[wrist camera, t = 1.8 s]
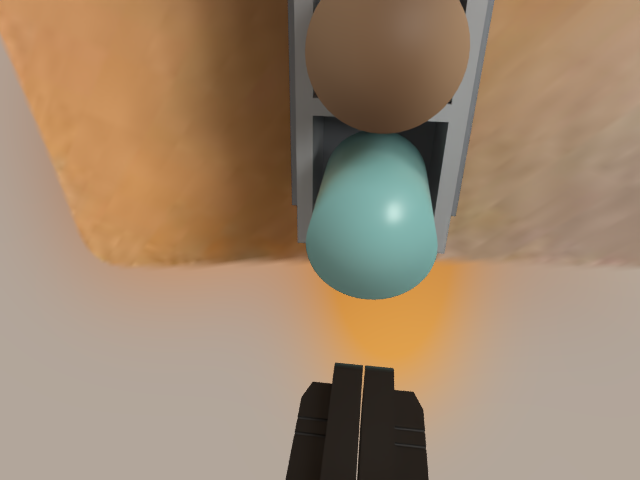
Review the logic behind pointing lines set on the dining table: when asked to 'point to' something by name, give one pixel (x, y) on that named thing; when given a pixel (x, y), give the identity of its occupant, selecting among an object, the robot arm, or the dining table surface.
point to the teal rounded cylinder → (373, 218)
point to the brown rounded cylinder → (386, 60)
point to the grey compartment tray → (429, 138)
